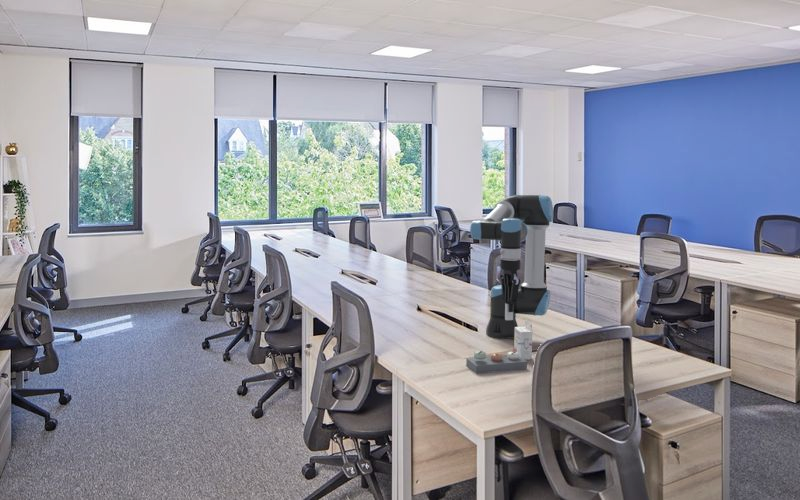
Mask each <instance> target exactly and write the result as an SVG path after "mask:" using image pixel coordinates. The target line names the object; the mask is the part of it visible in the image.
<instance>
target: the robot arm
mask: <svg viewBox="0 0 800 500" xmlns="http://www.w3.org/2000/svg"><path fill="white" fill-rule="evenodd" d="M553 205H554V204H553V201H552V199H551V197H550V196H548V195H541V194H539V195H536V194H531V195H530V194H528V195H527V194H524V195H523V194H515V195H510V196H507V197H505V198H503V199H501V200H499V201H498V202H497V203H495V205H494V207H493V209H492V211H491V212H489V213H488V215H486V216H485V217H484V218H483V219H482V220H473V221H472V222H471V223H470V230H469V232H470V236H471V239H473V240H479V241H481V240H482V241H485V240H486V241H500V251H499V253H500V258H501V259H500V264H499V265H500V270H503V271H502V272H503V273H502V274H499V278H500V282H501V284H499V285H498V284H497V285H495V286H493V287H492V288H491V289H490V297H489V298H490V301H489V303H490V306H489V307H490V311H489V312H490V313H489V315H490V316H489V321H488V323H487V325H486V326H487V327H486V329H485V330H486V331H485V332H486V333H485V334H486V335H487V336H489V337H492V338H495V339H514V338H513V337H515V327H519V325H518V322H517V317H516V315H528V316H530V315H531V316H541V317H542V316H545V315H546V314H547V312H548V310H549V306H550V302H551V301H550V300H551V290H548V289H547V288H548V286H547V285H546V283H545V282H544V281H545V280H544V279H545V254H546V232H547V231H546V230H547V229H548V228H549V227H550V223H552V222H554V206H553ZM524 239H525V250H524V251H525V253H524V254H525V256H524V257H525V258H524V281H523V282H522V283H521V279H519V278H518V271H519V270H520V269H521V260H520V259H521V258H522V257H521V256H522V255H521V254H522V253H521V251H522V241H523V240H524Z"/></svg>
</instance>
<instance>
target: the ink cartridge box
mask: <svg viewBox="0 0 800 500" xmlns="http://www.w3.org/2000/svg"><path fill="white" fill-rule="evenodd" d="M513 339H514V341H513V342H514V343H513V345H514V346H513V352H518V353H519V356H520V357H521V358H523V359H524V360H526V361H527V360H529V361H530V360H533V359H532V358H533V355H532V354H533V324H532V323H531V322H530V321H528V320H527V319H524V326H518V327H515V337H514V338H513Z"/></svg>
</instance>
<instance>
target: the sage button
mask: <svg viewBox="0 0 800 500" xmlns="http://www.w3.org/2000/svg"><path fill="white" fill-rule="evenodd" d="M486 355H487V354H486V352H485V351H483V350H478V351H473V358H475V359H479V360H482V359H485V358H486V357H487V356H486Z"/></svg>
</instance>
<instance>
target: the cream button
mask: <svg viewBox="0 0 800 500" xmlns="http://www.w3.org/2000/svg"><path fill="white" fill-rule="evenodd" d="M507 355H508V359H510V360H518V359H519V353H518V352H514V351H508V352H507Z"/></svg>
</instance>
